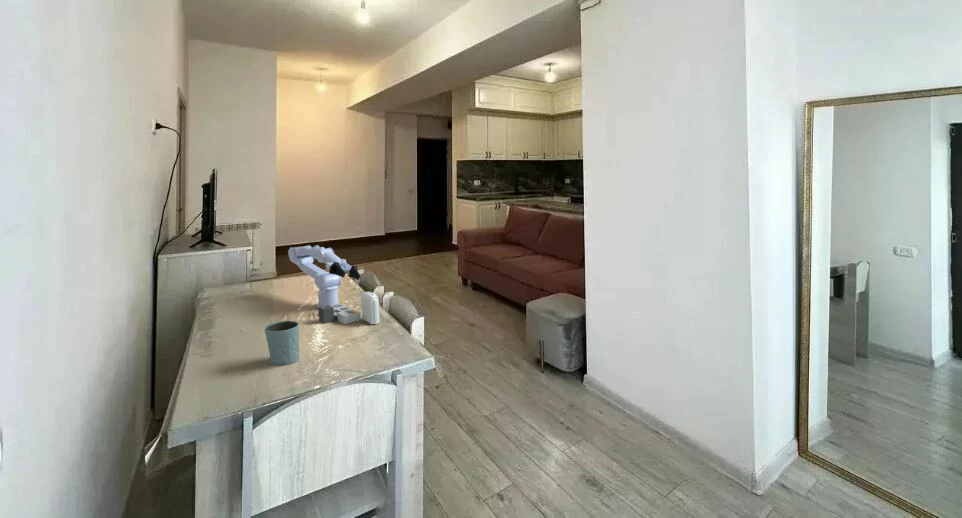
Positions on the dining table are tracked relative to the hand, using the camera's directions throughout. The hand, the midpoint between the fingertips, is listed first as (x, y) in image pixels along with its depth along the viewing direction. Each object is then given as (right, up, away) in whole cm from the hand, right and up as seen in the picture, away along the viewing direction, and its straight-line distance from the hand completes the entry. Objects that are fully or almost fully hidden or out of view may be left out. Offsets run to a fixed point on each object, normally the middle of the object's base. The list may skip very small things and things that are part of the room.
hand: (351, 276), depth 184 cm
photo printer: (+9, -19, -2) cm, 21 cm away
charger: (-9, -18, -1) cm, 20 cm away
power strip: (-5, -18, +3) cm, 18 cm away
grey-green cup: (-10, -26, -41) cm, 49 cm away
